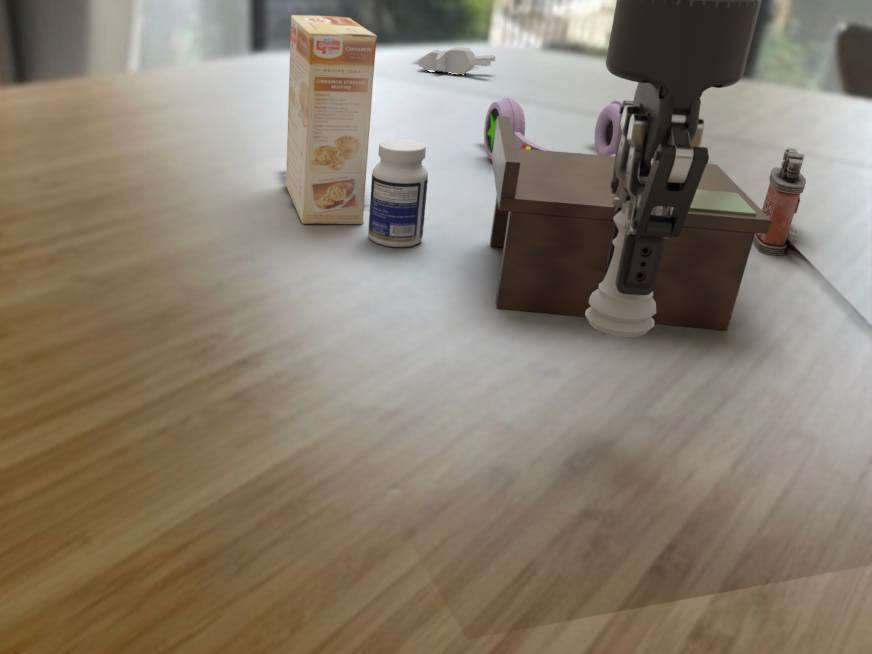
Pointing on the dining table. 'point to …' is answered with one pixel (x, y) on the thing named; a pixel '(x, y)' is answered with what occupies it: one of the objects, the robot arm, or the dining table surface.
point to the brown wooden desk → (591, 233)
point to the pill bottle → (398, 194)
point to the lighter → (781, 203)
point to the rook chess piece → (620, 295)
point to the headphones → (509, 108)
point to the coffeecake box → (329, 117)
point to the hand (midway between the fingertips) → (627, 279)
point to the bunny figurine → (454, 60)
